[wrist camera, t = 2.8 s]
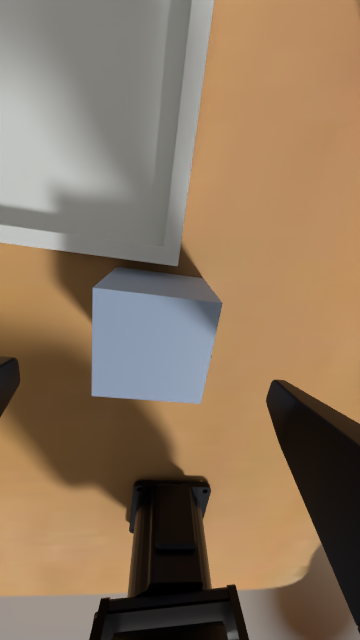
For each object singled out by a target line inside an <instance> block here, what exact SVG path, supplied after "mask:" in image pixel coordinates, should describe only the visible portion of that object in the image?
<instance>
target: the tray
mask: <svg viewBox="0 0 360 640" xmlns="http://www.w3.org/2000/svg"><path fill="white" fill-rule="evenodd" d="M213 5H214V0H0V243H8V244H15V245H23V246H30V247H37V248H45V249H52V250H60V251H67V252H75V253H82V254H89V255H97V256H104V257H112V258H119V259H127V260H134V261H142V262H149V263H156V264H164V265H171V266H178V261H179V254H180V246H181V239H182V232H183V224H184V217H185V210H186V202H187V195H188V188H189V180H190V173H191V166H192V159H193V151H194V144H195V137H196V129H197V122H198V115H199V107H200V100H201V93H202V85H203V78H204V71H205V63H206V56H207V49H208V42H209V34H210V27H211V20H212V12H213Z"/></svg>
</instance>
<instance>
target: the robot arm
mask: <svg viewBox="0 0 360 640" xmlns="http://www.w3.org/2000/svg"><path fill="white" fill-rule="evenodd" d="M19 383H20V373H19V364H18V360H17V359H16V358H14V357H0V417H1V415H2V413H3V412H4V410H5V408H6V407H7V405H8V403H9V401H10V400H11V398H12V396H13V394H14V393H15V391H16V389H17V388H18V386H19ZM266 403H267V407H268V410H269V413H270V416H271V420H272V423H273V426H274V429H275V432H276V436H277V438H278V441H279V444H280V446H281V449H282V451H283V454H284V456H285V458H286V461H287V463H288V465H289V468H290V470H291V473H292V475H293V477H294V480H295V482H296V484H297V487H298V489H299V491H300V494H301V496H302V498H303V501H304V503H305V505H306V508H307V510H308V513H309V515H310V517H311V520H312V522H313V524H314V527H315V529H316V531H317V534H318V536H319V538H320V541H321V543H322V545H323V547H324V550H325V552H326V554H327V557H328V560H329V562H330V564H331V567H332V569H333V571H334V574H335V576H336V578H337V581H338V583H339V585H340V588H341V590H342V592H343V595H344V597H345V600H346V602H347V604H348V607H349V609H350V611H351V614H352V616H353V618H354V621H355V623H356V625H357V626H358V631H359V633H360V424H359V423H357V422H355V421H354V420H352V419H350V418H348V417H347V416H345V415H343V414H342V413H340V412H338V411H336V410H335V409H333V408H331V407H330V406H328V405H326V404H324V403H323V402H321V401H319V400H317V399H316V398H314V397H312V396H311V395H309V394H307V393H305V392H304V391H302V390H300V389H299V388H297V387H295V386H293V385H292V384H290V383H288V382H287V381H284V380H273V381H272V383H271V385H270V388H269V391H268V394H267V398H266ZM210 492H211V489H210V485H209V484H208V483H204V482H172V481H141V480H140V481H136V482H135V483H134V489H133V499H132V508H131V518H130V527H129V531H130V532H131V533H134V536H133V546H132V556H131V566H130V577H129V587H128V597H127V598H119V599H110V597H109V598H101V601H100V605H99V609H98V612H96V613H95V615H94V621H93V626H92V630H91V634H90V639H89V640H249V638H248V634H247V630H246V626H245V622H244V618H243V614H242V610H241V606H240V602H239V598H238V594H237V590H236V586H235V584H233V585H227V587H224V588H215V589H212V587H211V579H210V572H209V564H208V557H207V549H206V542H205V534H204V527H203V517H204V514H205V510H206V507H207V503H208V500H209V496H210Z"/></svg>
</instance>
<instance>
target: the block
mask: <svg viewBox="0 0 360 640" xmlns="http://www.w3.org/2000/svg"><path fill="white" fill-rule="evenodd" d="M221 307H222V302H221V301H220V299H219V298H218V297H217V295H216V294H215V293H214V292H213V290H212V289H211V288H210V286H209V285H208V284H207V282H206V281H205V280H204V278H199V277H191V276H184V275H176V274H169V273H161V272H153V271H146V270H138V269H130V268H123V267H116V268H115V269H114V270H113V271H111V272H110V273H109V274H108V275H107V276H106V277H104V278H103V279H102V280H101V281H100V282H99V283H97V284H96V285H95V286H94V287H93V305H92V396H98V397H112V398H126V399H140V400H155V401H169V402H183V403H198V404H201V400H202V395H203V391H204V386H205V382H206V377H207V372H208V368H209V363H210V358H211V354H212V349H213V344H214V340H215V335H216V331H217V326H218V321H219V317H220V312H221Z"/></svg>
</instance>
